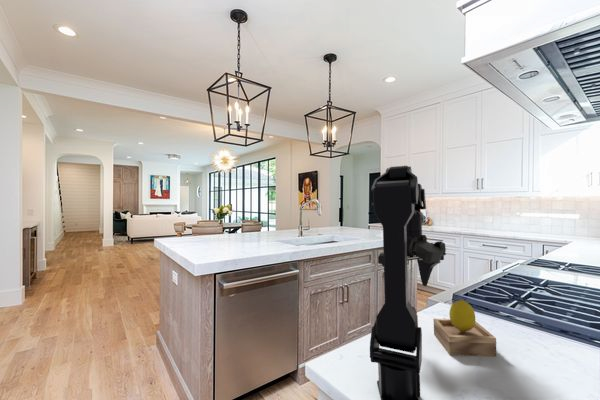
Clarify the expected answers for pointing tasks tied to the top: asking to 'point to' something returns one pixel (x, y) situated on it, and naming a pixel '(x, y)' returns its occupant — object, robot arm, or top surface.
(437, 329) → the tan open box
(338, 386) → the top surface
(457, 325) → the lemon
